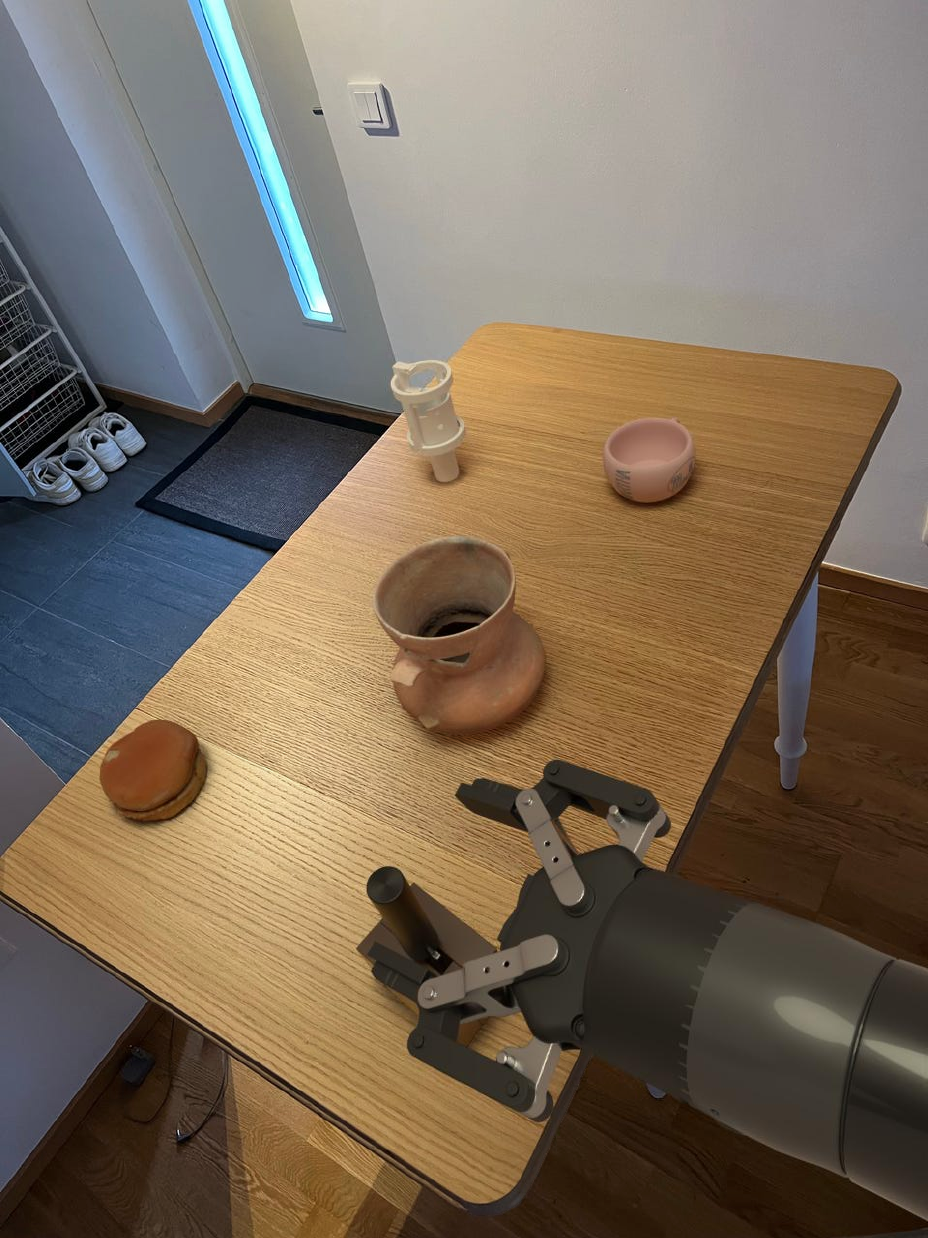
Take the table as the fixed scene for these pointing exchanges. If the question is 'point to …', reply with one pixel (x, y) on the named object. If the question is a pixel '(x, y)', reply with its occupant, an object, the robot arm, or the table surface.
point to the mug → (649, 458)
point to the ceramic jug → (458, 636)
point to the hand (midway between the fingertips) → (423, 872)
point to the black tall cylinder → (404, 915)
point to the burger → (153, 771)
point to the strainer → (430, 416)
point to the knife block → (453, 947)
